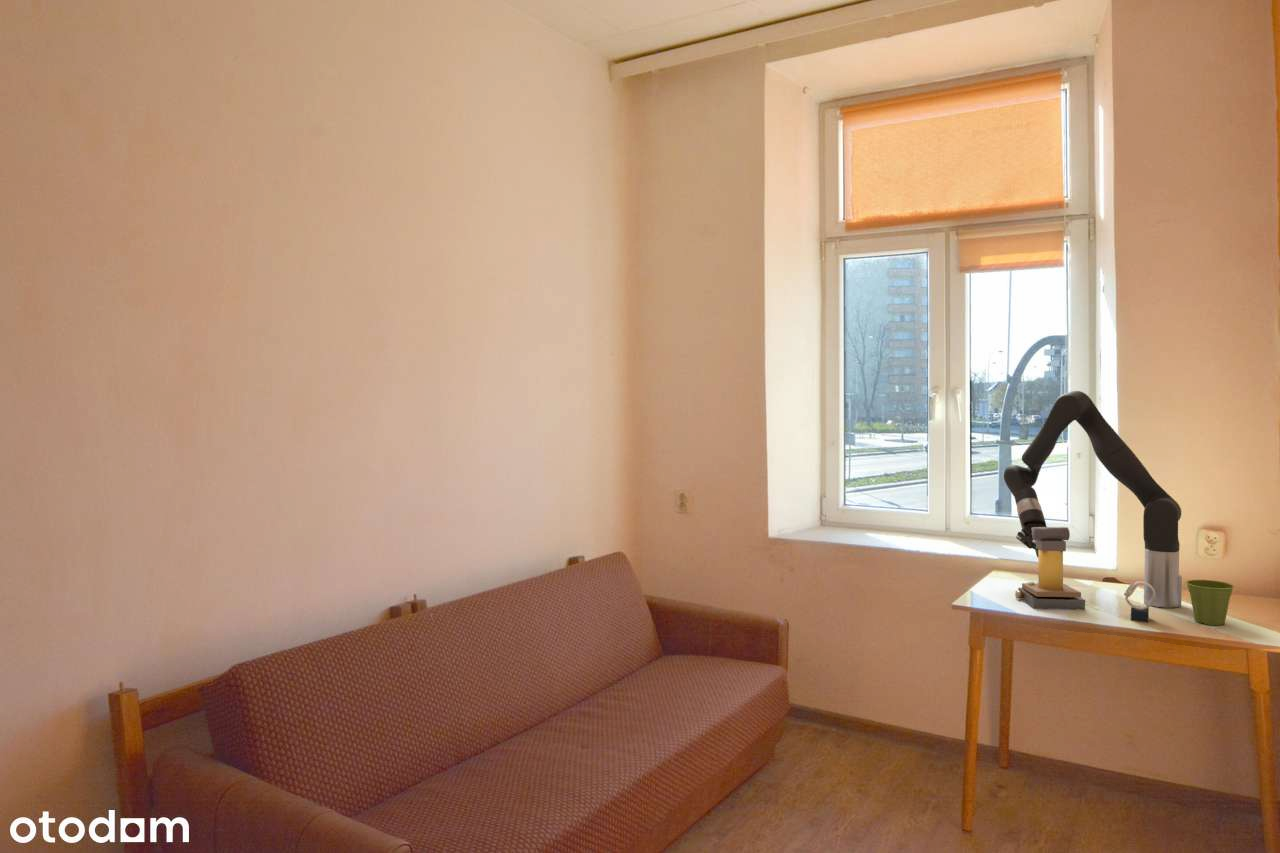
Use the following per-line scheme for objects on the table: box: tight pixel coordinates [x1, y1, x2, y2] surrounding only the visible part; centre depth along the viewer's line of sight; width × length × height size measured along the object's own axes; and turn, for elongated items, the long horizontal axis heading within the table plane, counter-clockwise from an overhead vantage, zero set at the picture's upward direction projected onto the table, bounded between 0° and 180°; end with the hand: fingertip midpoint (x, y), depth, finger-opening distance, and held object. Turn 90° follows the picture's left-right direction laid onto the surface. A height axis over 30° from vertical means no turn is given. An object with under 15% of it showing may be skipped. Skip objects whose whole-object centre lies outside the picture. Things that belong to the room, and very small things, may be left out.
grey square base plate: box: [1014, 587, 1086, 611], centre depth 270 cm, size 18×17×3 cm
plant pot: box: [1185, 579, 1236, 626], centre depth 245 cm, size 12×12×11 cm
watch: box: [1123, 580, 1156, 623], centre depth 250 cm, size 6×8×11 cm
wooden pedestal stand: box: [1021, 526, 1082, 598], centre depth 269 cm, size 13×14×20 cm
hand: (1042, 558), depth 276 cm, fingers closed
